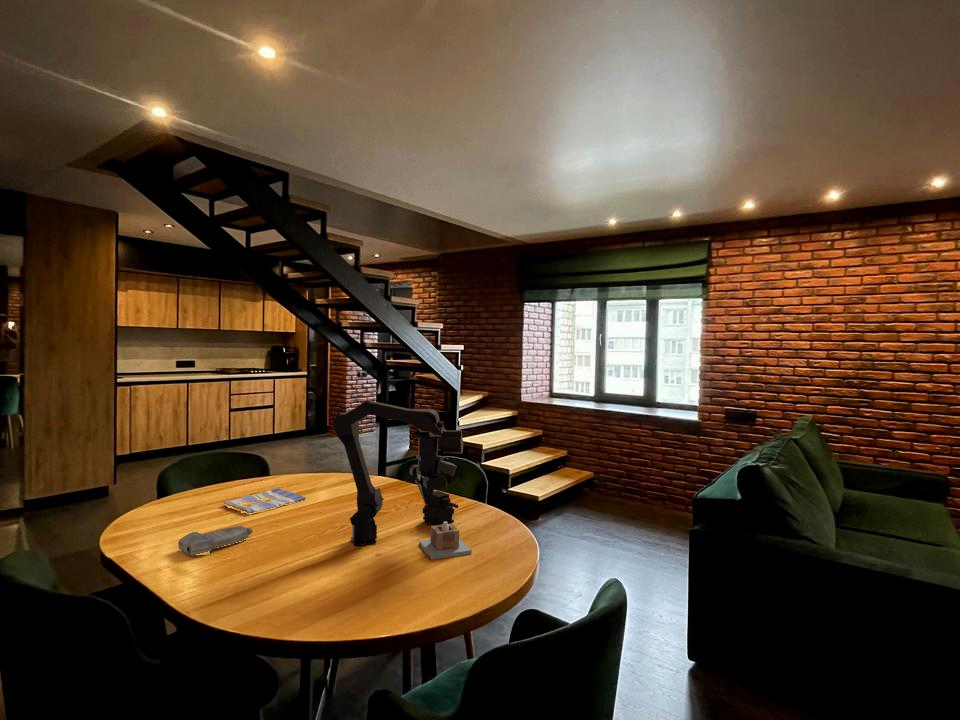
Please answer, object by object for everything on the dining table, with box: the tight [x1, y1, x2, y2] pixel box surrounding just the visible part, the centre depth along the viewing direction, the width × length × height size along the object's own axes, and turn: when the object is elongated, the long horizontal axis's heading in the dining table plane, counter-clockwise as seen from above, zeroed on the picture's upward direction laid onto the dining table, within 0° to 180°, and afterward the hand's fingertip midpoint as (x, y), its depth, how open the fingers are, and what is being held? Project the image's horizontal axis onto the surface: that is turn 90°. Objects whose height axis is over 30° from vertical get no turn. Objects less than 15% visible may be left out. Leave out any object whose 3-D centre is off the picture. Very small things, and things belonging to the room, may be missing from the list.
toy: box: [422, 490, 459, 526], centre depth 169 cm, size 8×14×10 cm, turn 44°
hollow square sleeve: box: [430, 523, 460, 551], centre depth 149 cm, size 6×6×5 cm
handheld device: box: [177, 525, 254, 556], centre depth 149 cm, size 10×20×5 cm, turn 144°
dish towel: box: [223, 487, 306, 513], centre depth 188 cm, size 17×24×3 cm
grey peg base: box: [418, 522, 473, 561], centre depth 149 cm, size 12×12×8 cm
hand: (427, 504), depth 152 cm, fingers closed
